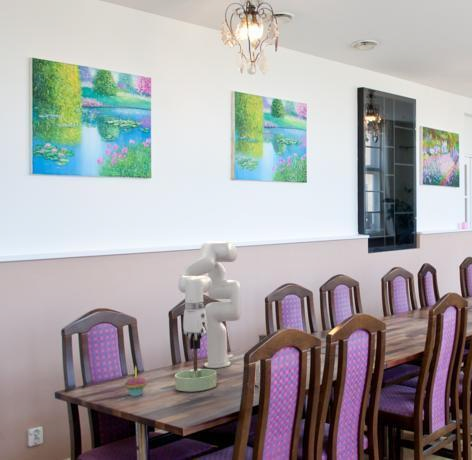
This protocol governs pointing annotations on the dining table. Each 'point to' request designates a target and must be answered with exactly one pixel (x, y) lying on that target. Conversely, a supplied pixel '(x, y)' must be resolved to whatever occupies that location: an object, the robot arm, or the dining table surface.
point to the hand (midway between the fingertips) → (195, 348)
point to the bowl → (195, 381)
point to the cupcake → (135, 385)
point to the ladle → (195, 365)
